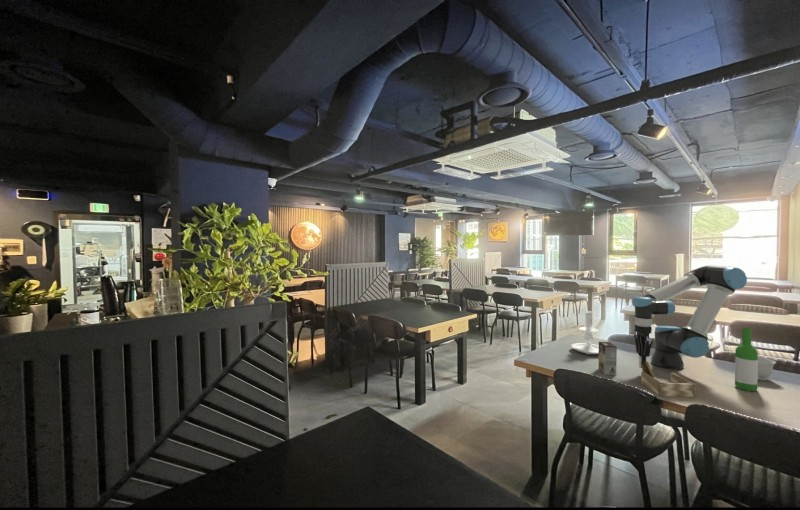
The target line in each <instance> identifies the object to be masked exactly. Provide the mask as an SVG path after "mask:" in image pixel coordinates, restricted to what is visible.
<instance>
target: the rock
mask: <svg viewBox="0 0 800 510" xmlns="http://www.w3.org/2000/svg"><path fill="white" fill-rule="evenodd" d="M641 366H642V368H641V369H642V370H641V372H645V373H646V374H648V375H650V376H651V377H653V378H654V379H655V375H654V371H653V368H651V367H652V366H651V365H650V363H649V361H647V360H646V361H644V362H641Z"/></svg>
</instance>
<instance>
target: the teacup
mask: <svg viewBox="0 0 800 510" xmlns="http://www.w3.org/2000/svg"><path fill="white" fill-rule="evenodd" d="M776 364H777V362H776V361H775V360H773V359H770V358H767V357H761V356H759V355H758V377H759V378H758V380H760V381H766V380H767V378H769V377H771V376H772V374H773V371H774V370H773V369H774V365H776Z"/></svg>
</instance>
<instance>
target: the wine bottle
mask: <svg viewBox="0 0 800 510" xmlns="http://www.w3.org/2000/svg"><path fill="white" fill-rule="evenodd" d="M758 356H759V353H758V350H757V349H756V348H755V347H754V346H753V345H752V329H751V328H749V327H743V328H742V341H741V344H739V345H737V346H736V348H735V355H734V358H735V359H734V360H735V361H734V385H735V387H736V388H737V389H740V390H744V391H749V392H756V391H758V380H759V379H758Z"/></svg>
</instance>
